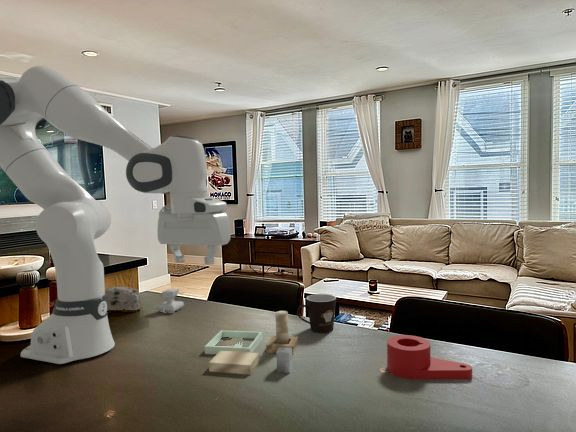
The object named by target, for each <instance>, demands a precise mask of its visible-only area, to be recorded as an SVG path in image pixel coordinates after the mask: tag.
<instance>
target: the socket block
mask: <svg viewBox="0 0 576 432" xmlns="http://www.w3.org/2000/svg"><path fill="white" fill-rule="evenodd" d="M298 345H299V336H290V335H289V344H276V335H272V336H271V337H270V339H269V341H268V342H267V344H266V345H265V346H266V348H265V349H266V350H265V351H266V354H276V352H277V350H278V348H279V347H287V348H292V355H294V354H295V352H296V350H297V348H298Z"/></svg>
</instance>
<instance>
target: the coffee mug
mask: <svg viewBox="0 0 576 432" xmlns="http://www.w3.org/2000/svg"><path fill="white" fill-rule="evenodd" d="M336 303H337V296H335V295H333V294H327V293H316V294H315V293H314V294H310V295H308V296H306V304H301V305H299V306H298V307H297V310H296V315H297V317H298V319H300V320H301V321H303V322H304V323H306V324H309V325H310V327H309V328H310V331H311V332H313V333H317V334H327V333H331V332H333V331H334V327H335V326H334V324H335V316H336V315H335V313H336ZM303 308H306V309H307V312H308V319H309V321H308V320H307V319H305V318H303V317H302V316H301V315H300V310H301V309H303Z"/></svg>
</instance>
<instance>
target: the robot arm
mask: <svg viewBox="0 0 576 432" xmlns="http://www.w3.org/2000/svg"><path fill="white" fill-rule="evenodd" d="M47 123H49V124H50V125H51V126H53V127H54V128H56V129H57V130H58V131H60V132H62V133H64V134H65V135H68V136H69V137H72V138H74V139H76V140H80V141H83V142H87V143H91V144H95V145H98V146H102V147H105V148H107V149H110V150H112V151H113V152H115V153H117V154H118V155H120V156H121V157H122V158H123V159H125V160H126V161H128V162H127V164H126V169H125V177H126V180H127V182H128V184H129V185H130V187H131V188H132V189H134V190H136V191H137V192H140V193H144V194H162V195H169V199H170V206H168V205H165V206H163V207H162V208H160V210H159V212H158V219H157V241H158V242H159V244H160V245H169V250H170V251H171V253H172V255H173V256H174V263H176V264H182V263H184V262H185V255H184V254H182V252H181V250H180V248H181V246H183V245H187V246H189V245H190V246H206V250H207V251H208V252H207V256H204V257H203V260H204V265H214V264H215V255H216V254H217V251H218V248H219V247H218V246H225V245H228V243H229V242H230V241H231V226H230V225H231V224H230V220H229V216H228V215H227V213H226V211H228V210H227V209H228V205H227V202H226V201H223V200H222V199H221V200H220V199H217V198H214V197H212V196H209V188H208V185H207V175H208V169H207V168H208V167H207V159H206V158H207V157H206V153H205V149H204V146H203V145H204V144H203V143H202V142H201V141H200V140H199V139H196V138H194V137H190V136H186V135H185V136H184V135H171V136H169V137H168V138H167V139H166V140H165V141H163V142H162V143H161V144H159V145H157V146H155V147H151V146H150V145H149V144H148V143H146V142H144V141H143V139H140V138H139V137H138V136H137V135H135V134H133V132H131V131H130V130H128V129H127V128H125V126H123V124H121V123H120V122H119V121H118V120H117V119H115V117H113V116H112V114H110V113H109V112H108V111H107V110H106V109H105V108H104V107H103V106H102V105H101V104H100V103H99V102H98V101H96V100H95V98H93V97H92V96H91V95H90V94H89V93H88V92H87V91H86V90H84V89H83V88H81V86H79V85H78V84H77V83H75V82H74V81H72V80H71V79H70V78H68V77H66V76H65V75H63V74H61V73H59V72H57V71H56V70H54V69H52V68H50V67H48V66H44V65H38V66H37V65H35V66H32V67H29V68H28V69H27V70H25V71H24V72H23V73H22V75H21V76H20V78H18V77H16V78H15V77H4V78H3V77H2V78H0V168H1V169H2V171H3V172H4V173H5V174H6V175H7V177H9V179H10V180H11V181H12V183H13V184H14V185H15V186H16V187H17V189H18V191H20V192H21V194H22V195H23V196H24V197H25V198H26V199H27V200H29V201H30V202H32V203H34V204H36V205H38V207H40V208H42V209H43V210H42V211H41V212H40V213H39V214H38V216H37V218H36V221H35V230H36V234H37V235H38V237H39V238H40V239H41V241H43V242H44V243H45V245H46V246H47V249H48V252H49V253H50V256H51V259H52V263H53V266H54V269H55V278H56V279H55V280H56V288H57V289H56V290H57V298H56V299H55V300H53V301H50V302H48V308H53V309H52V313H51V314H50V315H49V316H47V317H46V318H45V319H44V320H43V321H42V322H41V323H40V324H38V325H37V326H36V327H35V328H34V329H33V330H32V332H31V336H30V345H28V346H27V347H25V348H24V349H22V350H21V352H20V357H21V358H24V359H29V360H30V359H31V360H35V361H41V362H47V363H53V364H56V365H62V364H66V363H70V362H73V361H77V360H78V361H79V360H84V359H89V358H92V357H96V356H99V355H102V354H104V353H106V352H108V351H110V350H112V349H114V347H115V345H116V342H115V341H114V337H113V335H112V331H111V327H110V324H109V318H108V317H109V316H108V312H107V311H108V301H107V293H105V292H106V288H105V286H106V285H105V269H104V268H105V267H104V263H103V262H102V261H101V259H100V256H99V255H98V251H97V248H96V245H95V240H97V239H99V238H101V237H102V236H103V235H104V234H105V233H106V232H107V231H108V230H109V228H110V226H111V224H112V215H111V212H110V210H109V209H108V208H107V206H105V205H104V204H102V203H100V202H99V201H98V200H96V199H95V198H94V197H93V196H92V195H91V194H90V193H89V192H88V191H87V190H86V189H84V188H83V187H82V186H81V185H80V184H79V183H78V182H76V181H75V180H74V179H73V178H72V177H71V176H70V175H69V174H68V173H67V172H66V170H64V168H63V167H62V166H61V165H60V164H59V162H58V161H57V160H56V159H55V157H54V156H53V155H52V154H51V153H50V151H49V150H48V149H47V148H46V147H45V146H44V145H43V143H42V142H41V141H40V139H39V138H38V136H37V134H36V130H42V129H44V128H45V127H46V126H47Z"/></svg>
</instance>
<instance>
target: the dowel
mask: <svg viewBox="0 0 576 432" xmlns="http://www.w3.org/2000/svg"><path fill="white" fill-rule="evenodd" d="M274 315H275V336H276V344H289V336H290V335H289V312H288V311H287V310H279V311H276V312H275V314H274Z"/></svg>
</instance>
